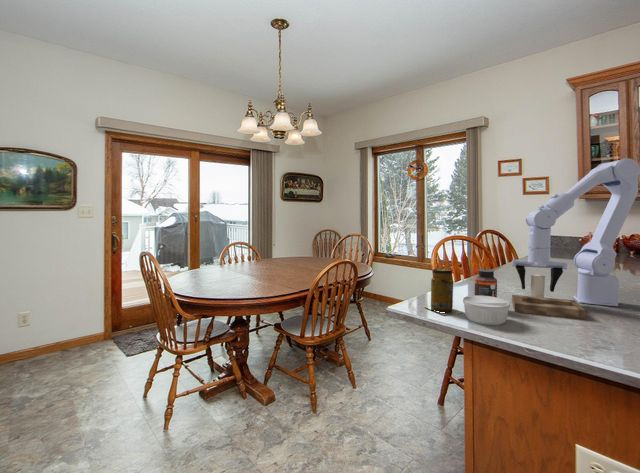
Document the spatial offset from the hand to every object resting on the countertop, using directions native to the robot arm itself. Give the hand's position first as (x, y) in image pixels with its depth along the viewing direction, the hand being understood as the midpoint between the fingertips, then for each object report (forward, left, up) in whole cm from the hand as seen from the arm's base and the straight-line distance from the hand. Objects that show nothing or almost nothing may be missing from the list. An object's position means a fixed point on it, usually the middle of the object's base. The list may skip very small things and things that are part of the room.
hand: (537, 289), depth 105 cm
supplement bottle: (+15, +16, -4) cm, 22 cm away
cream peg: (0, 0, -3) cm, 3 cm away
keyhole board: (-1, +11, -3) cm, 12 cm away
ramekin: (+15, +28, -4) cm, 32 cm away
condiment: (+26, +24, -4) cm, 36 cm away
